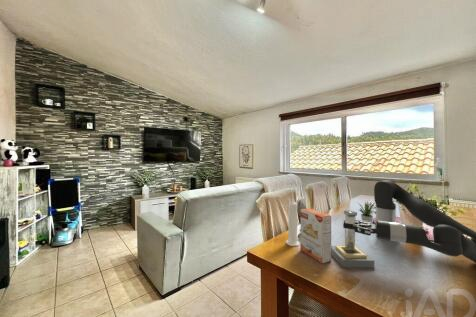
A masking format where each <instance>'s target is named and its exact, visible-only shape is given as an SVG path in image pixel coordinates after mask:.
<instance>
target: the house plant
mask: <svg viewBox="0 0 476 317" xmlns="http://www.w3.org/2000/svg"><path fill="white" fill-rule="evenodd" d="M357 204H358V205H359V206H360V207H359V209H358V212H361V214H360V217H361V220H362V221H370V222H371V223H372V224H373V220H374V219H373V218H374V216H373V214H374V213H376V210H374V209H376V203H372V204H371V205H369V201H365V202H364V207H363V206H362V205H361V204H360V203H359V202H357Z"/></svg>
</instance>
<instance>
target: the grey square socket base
mask: <svg viewBox="0 0 476 317" xmlns="http://www.w3.org/2000/svg"><path fill="white" fill-rule="evenodd" d="M331 257H333V258H334V259H335V260H336V261H337V262H338V263H339V264H340V265H341V267H343V268H371V269H372V268H373V269H374V268H375V260H374V259H373V258H372V257H370V256H369V255H368V254H366V253H365V251H363V250H361V249H360V248H359V247H357V246H355V248H354V249H350V248H347V247H345V245H335V246H334V245H333V246H332V245H331Z"/></svg>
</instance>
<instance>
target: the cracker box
mask: <svg viewBox="0 0 476 317" xmlns="http://www.w3.org/2000/svg"><path fill="white" fill-rule="evenodd" d="M300 229H301V233H300V232H299V234H300V235H301V236H300V238H299V239H300V241H299V243H300V244H299V246H300V248H299V249H300V251H301V252H303V253H304V254H306V255H308V256H309V257H311V258H312V259H314V260H316V261H317V262H318V263H320V264H321V265H322V264H326V263H330V262H332V254H331V246H332V215H330V214H327V213H324V212H321V211H318V210H316V209H313V208H309V207H308V208H301V209H300Z"/></svg>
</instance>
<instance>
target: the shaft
mask: <svg viewBox="0 0 476 317" xmlns="http://www.w3.org/2000/svg"><path fill="white" fill-rule="evenodd" d="M343 214H344V216H345V217H344V219H345V223H349V224H355V220H356V216H358V212H357V211H355V210H350V209H349V210H347V209H345V210H343ZM344 246H345V247H347V248H350V249H354V248H355V247H356V232H355V231H354V230H353V229H347V228H344Z"/></svg>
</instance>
